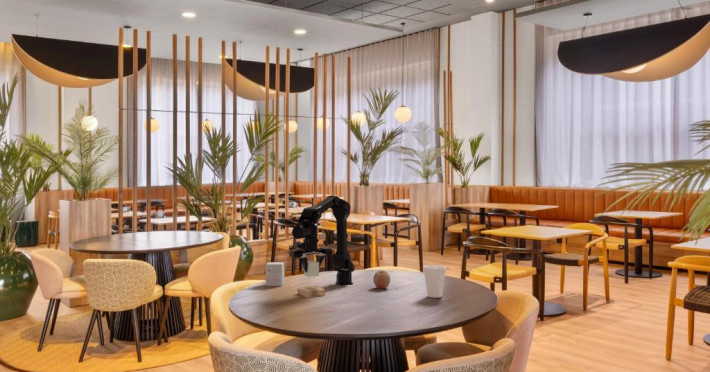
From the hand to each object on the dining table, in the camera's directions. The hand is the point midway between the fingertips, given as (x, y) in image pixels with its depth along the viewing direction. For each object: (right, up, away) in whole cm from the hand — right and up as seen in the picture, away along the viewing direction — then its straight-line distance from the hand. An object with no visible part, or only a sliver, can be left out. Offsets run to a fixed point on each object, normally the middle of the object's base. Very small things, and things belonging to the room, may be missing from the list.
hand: (311, 271), depth 258 cm
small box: (-19, -10, +22) cm, 30 cm away
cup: (+53, -10, -5) cm, 55 cm away
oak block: (0, -10, 0) cm, 10 cm away
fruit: (+32, -10, +13) cm, 36 cm away
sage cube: (0, -2, 0) cm, 2 cm away
